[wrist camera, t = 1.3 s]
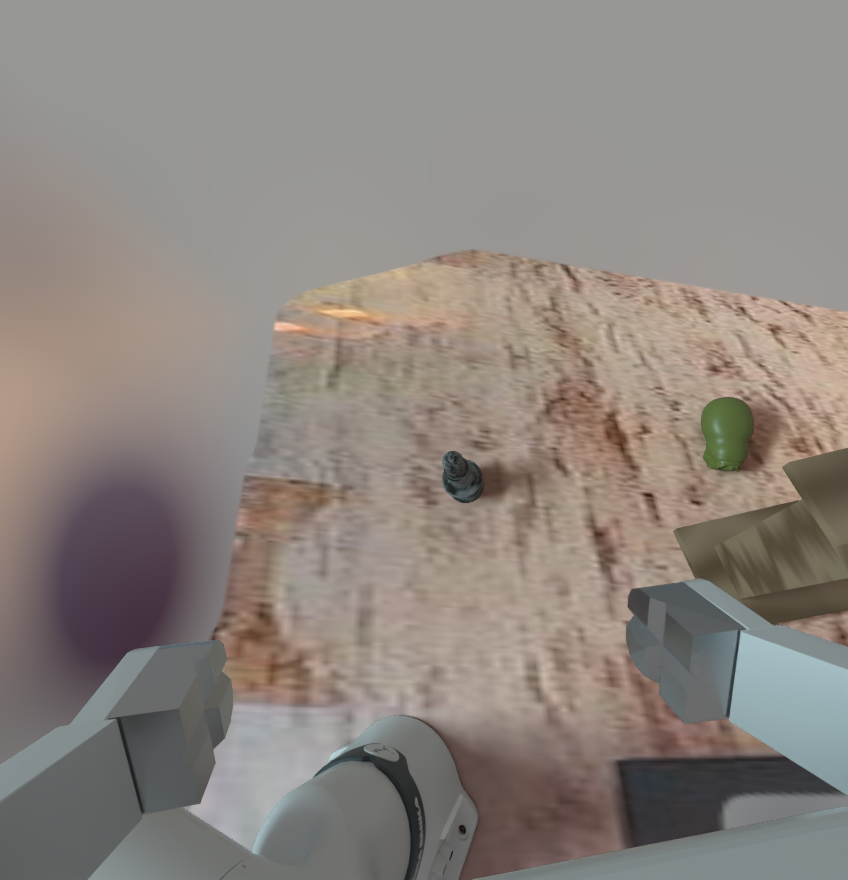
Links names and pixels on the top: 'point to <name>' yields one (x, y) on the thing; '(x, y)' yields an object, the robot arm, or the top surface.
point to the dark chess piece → (461, 477)
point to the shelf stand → (782, 546)
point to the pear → (726, 433)
